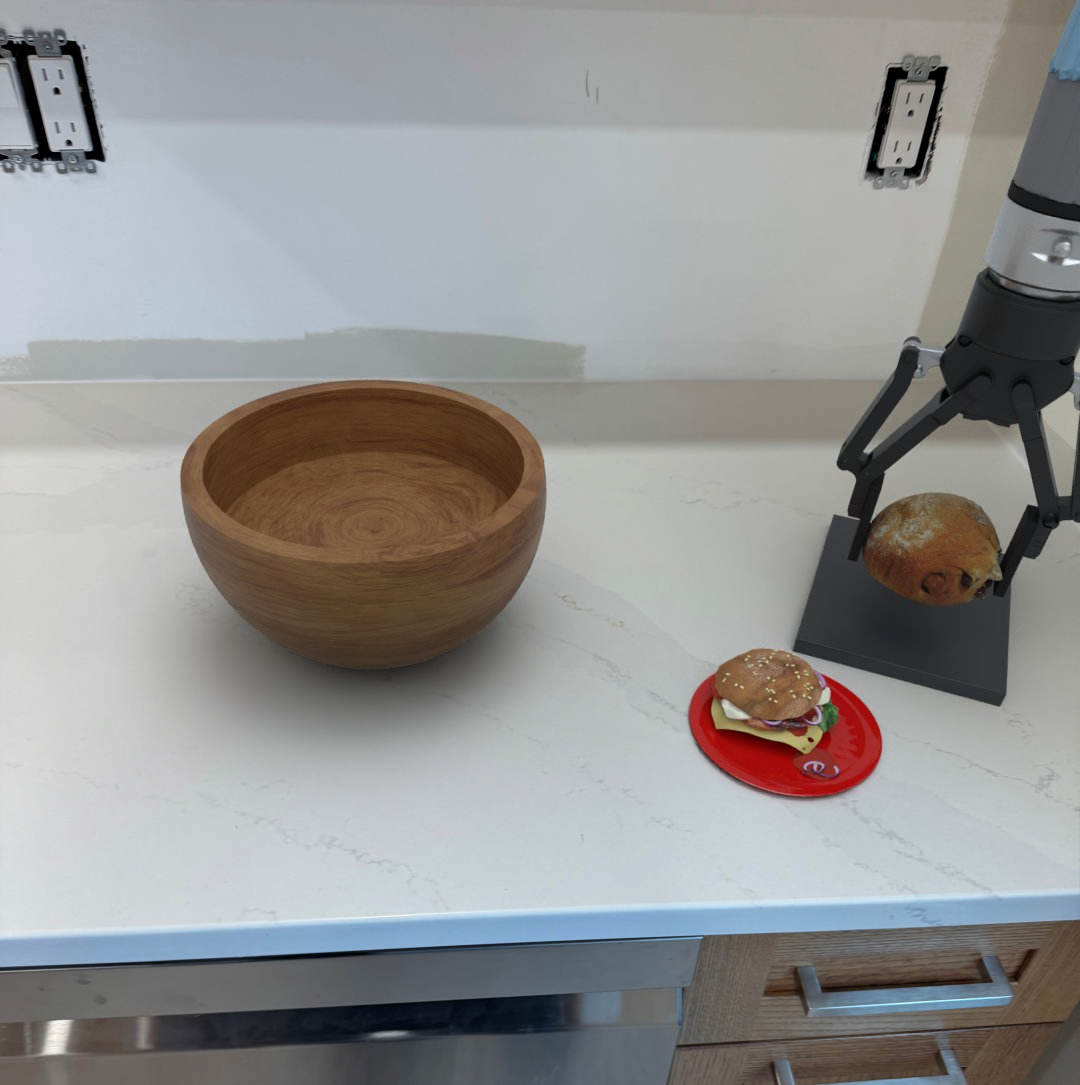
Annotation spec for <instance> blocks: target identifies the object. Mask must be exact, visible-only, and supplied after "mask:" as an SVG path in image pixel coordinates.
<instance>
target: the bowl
mask: <svg viewBox="0 0 1080 1085" xmlns="http://www.w3.org/2000/svg"><path fill="white" fill-rule="evenodd" d="M179 472H180V474H179V476H180V478H179V479H180V496H181V504H182V510H183V516H184V520H185V524H186V527H187V530H188V535H189V537H190V540H191V543H192V545H193V548H194V551H195V553H196V555H197V558H198V559H199V561H200V562H199V563H201V565H202V567H203V569H204V571H205V573H206V575H207V576H208V578H209V580H210V581H211V582H212V584H213V585H214V587H215V589H216V590H217V591H218V592H219V594H220V595H221V596H222V598H223V599H224V600H225V601H226V602H227V604H228V605H229V607H231V608H232V609H233V610H234V611H235V612H236V613H237V614H238V615H239V616H240V617H241V618H242V619H243V620H244V621H246V623H247V624H249V626H251V627H252V628H254V629H255V630H256V631H257V632H259V633H260V634H262V635H263V636H264V637H265V638H267V639H269V640H270V641H272V642H273V643H275V644H277V645H279V646H281V647H282V648H283V649H286V650H288V651H290V652H292V653H294V654H296V655H298V656H302V657H303V658H307V659H308V660H312V661H315V662H318V663H320V664H321V663H322V664H326V665H330V666H333V667H338V668H339V667H340V668H345V669H347V668H348V669H355V670H388V669H389V670H390V669H398V668H403V667H408V666H413V665H416V664H420V663H424V662H426V661H430V660H432V659H435V658H439V657H440V656H443V655H445V654H447V653H449V652H450V651H453V650H455V649H457V648H459V647H460V646H462V645H464V644H465V643H467V642H468V641H470V640H471V639H472V638H474V637H475V636H477V635H478V634H479V633H481V632H482V631H483V630H484V629H485V628H486V627H488V626H489V625H490V624H491V623H492V622H493V621H494V620H495V619H496V618H498V616H499V615H500V614H501V613H502V612H503V611H504V610H505V609H506V607H507V606H508V605H509V603H510V602H511V601H512V600H513V599H514V597H515V595H516V594H517V592H518V591H519V589H520V587H521V586H522V584H523V582H524V581H525V579H526V577H527V575H528V573H529V571H530V569H531V567H532V565H533V562H534V560H535V557H536V554H537V551H538V549H539V545H540V542H541V537H542V535H543V529H544V525H545V520H546V519H545V518H546V510H547V492H548V491H547V489H548V488H547V473H546V465H545V458H544V455H543V451H542V449H541V446H540V444H539V443H538V441H537V439H536V438H535V436H534V435H533V434H532V432H531V431H530V430H529V429H528V428H527V427H526V426H525V425H524V424H523V423H522V422H521V421H519V420H518V419H517V418H516V417H514V416H513V415H512V414H511V413H508V412H507V411H505V410H504V409H502V408H501V407H498V406H497V405H495V404H493V403H491V402H489V401H486V400H484V399H481V398H479V397H476V396H473V395H471V394H469V393H464V392H461V391H458V390H454V389H451V388H447V387H443V386H437V385H433V384H428V383H427V384H426V383H421V382H413V381H405V380H404V381H403V380H394V379H349V380H338V381H328V382H320V383H319V382H318V383H313V384H308V385H302V386H298V387H297V386H296V387H293V388H289V389H285V390H281V391H278V392H274V393H271V394H267V395H265V396H261V397H259V398H257V399H254V400H252V401H251V400H250V401H249V402H247V403H244V404H242V405H241V406H240V405H239V406H238V407H236V408H234V409H232V410H230V411H228V412H227V413H225V414H223V415H221V416H220V417H218V418H217V419H215V420H214V421H212V423H210V424H209V425H208V426H207V427H205V428H204V429H203V430H202V431H201V432H200V433H199V434H198V435H197V436H196V438H194V440H193V441H192V442H191V444H190V445H189V447H188V448H187V450H186V452H185V454H184V456H183V459H182V461H181V466H180V471H179Z"/></svg>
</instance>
